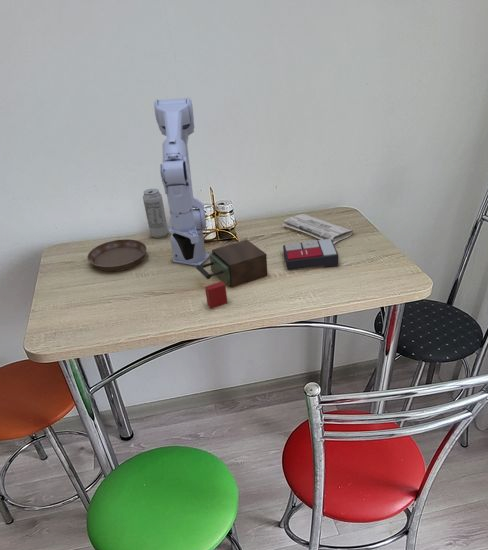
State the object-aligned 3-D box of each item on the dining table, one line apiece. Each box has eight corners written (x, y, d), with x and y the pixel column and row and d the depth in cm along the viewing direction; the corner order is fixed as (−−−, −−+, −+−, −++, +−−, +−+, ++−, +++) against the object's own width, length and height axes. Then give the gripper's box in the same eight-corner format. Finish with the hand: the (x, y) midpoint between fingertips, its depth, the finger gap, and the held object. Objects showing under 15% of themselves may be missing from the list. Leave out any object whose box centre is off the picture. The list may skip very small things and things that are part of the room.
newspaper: (279, 227, 165) (280, 219, 164) (304, 220, 172) (305, 213, 171) (330, 246, 151) (330, 238, 150) (354, 237, 158) (355, 230, 157)
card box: (211, 308, 126) (208, 290, 122) (207, 305, 127) (204, 286, 124) (227, 303, 128) (225, 284, 124) (223, 299, 129) (221, 281, 126)
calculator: (282, 242, 147) (331, 236, 147) (283, 255, 150) (331, 249, 150) (286, 259, 138) (338, 252, 138) (287, 272, 141) (338, 266, 141)
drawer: (210, 290, 131) (208, 273, 128) (195, 275, 138) (192, 259, 135) (259, 274, 137) (258, 258, 134) (242, 261, 145) (241, 244, 141)
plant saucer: (130, 277, 141) (128, 268, 139) (78, 271, 145) (75, 262, 143) (158, 250, 154) (156, 241, 152) (109, 245, 158) (106, 237, 157)
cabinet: (232, 287, 134) (230, 265, 130) (214, 271, 142) (211, 249, 138) (267, 275, 138) (266, 253, 134) (248, 260, 146) (246, 239, 142)
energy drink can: (171, 232, 165) (163, 188, 156) (164, 239, 161) (156, 195, 152) (155, 231, 167) (146, 187, 157) (147, 238, 162) (138, 194, 153)
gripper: (155, 204, 126) (165, 252, 134) (177, 223, 116) (185, 273, 124) (181, 198, 128) (188, 245, 137) (203, 216, 118) (210, 265, 127)
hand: (188, 258), depth 131 cm, fingers closed
